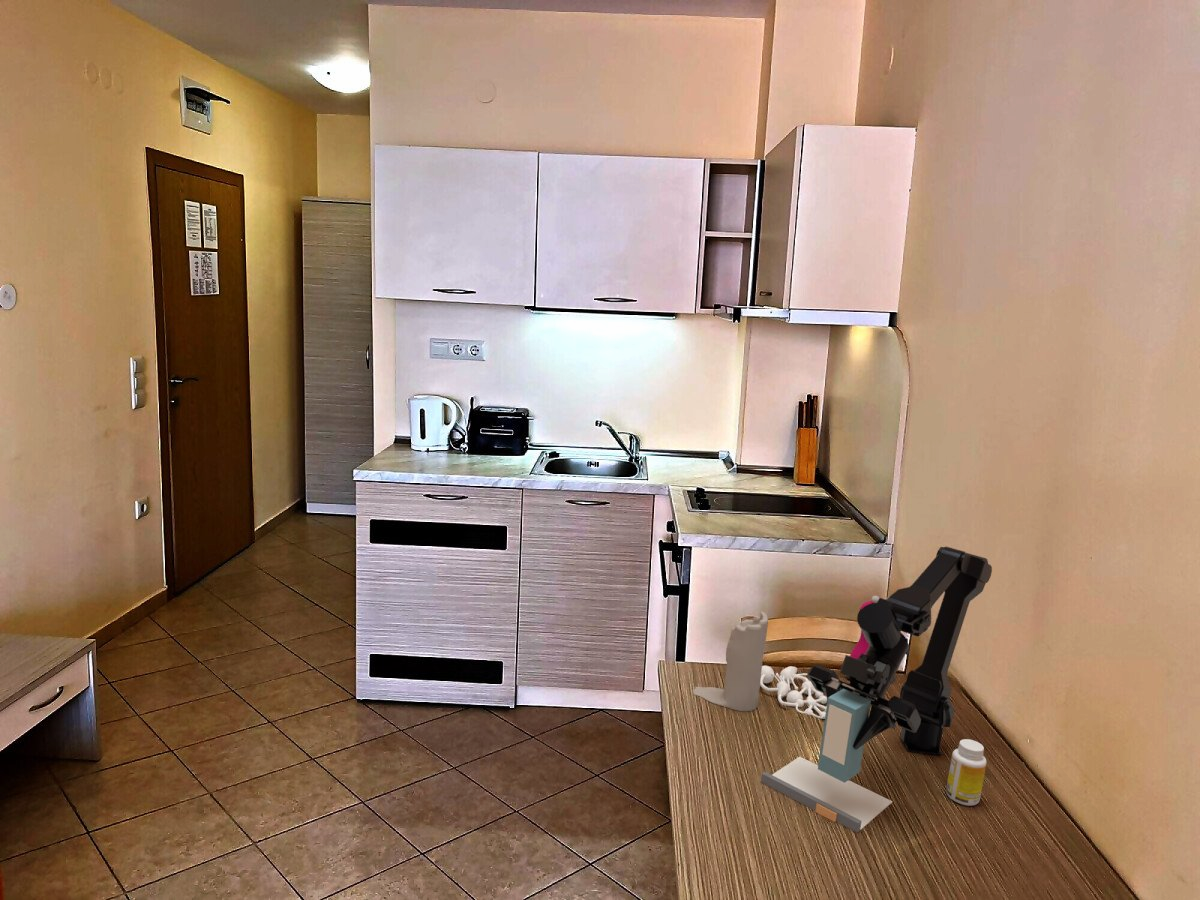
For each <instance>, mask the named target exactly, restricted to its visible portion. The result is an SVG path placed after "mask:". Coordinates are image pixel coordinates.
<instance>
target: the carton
mask: <svg viewBox="0 0 1200 900" xmlns="http://www.w3.org/2000/svg"><path fill="white" fill-rule="evenodd" d="M870 703H871V700H869V699H866V698H864V697H862V696H859V695H857V694H855V693H854V692H853V693H852V692H850V691H848V690H845V689H842V690H840V691H838V692H837V693H835V694H833V695H831V696H830V697H828V701H827V702H826V706H827V708H826V715H825V720H824V724H823V731H822V737H821V745H820V750H819V759H818V764H817V765H818V769H819V770H821V771H823V772H824V773H826V774H828V775H830V776H832V777H834V778H836V779H838V780H840V781H842V782H844V783H845V782H847V781H848V780H849V781H850V779H852V778H854V777H856V775H858V774H859V773H860V772H861V766H862V761H863V760H862V759H863V753H864V747H865V744H864V745H862V746H861V747H859V748H858V749H857V750H856V749H854V748H853V744H854V742H855V740H856V738H857V736H858V734H859V732H860V731H861V729H862V727H863V726H864V724H865V722H866V721H867V719H868V717H869V714H870V710H871V706H870Z"/></svg>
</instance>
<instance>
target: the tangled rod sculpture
mask: <svg viewBox="0 0 1200 900" xmlns="http://www.w3.org/2000/svg"><path fill="white" fill-rule="evenodd" d="M807 674H808V673H798V668H797V667H796V666H787V667H786V668H783V669H782V670H781V671H780V674H779V673H778V672H775V671H774V669H773V668H772V667H771V666H769V665H762V671H761V680H760V687H761V688H762V689H763V690H765V691H766V692H777V700H778V703H779V704H781V706H787V707H793V708H795V711H797V713H800V714H804V715H805V714H806V715H809V716H812V717H815V718H816V719H820V720H822V719H825V715H826V708H827V705H826V706H825V705H822V704H827V696H826V695H824V693H821V692H819V691H818V690H816V689H815V688H814V686H813V685H812V683H811V681H810V680H809V678H807V677H808V676H807ZM805 676H807V677H805ZM774 678H775V679H776V680H777V681H778V682H777V683H776V687H767V686H766V685H765V684H769V683H772V681H773V680H774ZM795 679H798V680H802V681H804V682H802V684H801V690H800V691H798V690H799V687H798V686H797V685H796V684H795ZM790 684H792V685H793V687H794V690H792V689H791V687H790ZM814 693H815V697H816V699H814V697H813V694H814ZM803 694H804V695H806V696H807V695H808V696H807V697H806V699H805V700H804V697H803ZM784 697H786V701H783V700H782V698H784ZM805 704H806V706H807V708H806V709H805V710H804V711H802V710H800V709H799V708H802V707H804V706H805ZM819 708H821V709H822V710H824V711H821V710H820V709H819ZM813 709H814V711H816V712H817V714H818V715H817V714H815V713H814V711H813Z"/></svg>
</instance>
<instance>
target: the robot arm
mask: <svg viewBox="0 0 1200 900" xmlns="http://www.w3.org/2000/svg"><path fill="white" fill-rule="evenodd" d="M992 572H993V567H992V565H991V564H989V561H988V559H987V558H986V557H983V556H980V555H979V556H978V555H975V554H973V553H968V552H966V551H964V550H960V549H957V548H953V547H949V546H940V547H939V548H938V550H937V552H936V556H935V557H934V558H933V560H932V561H931V562H930V564H928V566H927V567H926V568H925V569H924V570H923V572H922V573H920V575H919V576H918V577H917V579H915V580H914V582H913V583H912V584H911V585H910V586H907V587H904V588H900V589H896V590H895V591H894V592H893V593H892V594H891V595H889V597H888V598H886V599H884V598H882V597H879V600H878V602H877V603H871V604H868V605H866V606H865V607H863V608H862V609H860V608H859V610H858V613H857V616H856V620H857V624H858V627H859V628H860V631H861V630H862V632H863V634H864V636H865V639H866V640H867V642H868V644H869V645H870V646H869V648H868V649H867V651H866V653H865V655H864V654H861V655H860V656H859V658H858V659H855V658H853V657H850V655H848V654H845V655H844V659H843V661H842V664H841V667H840V670H839V673H840V674H842V675H844V677H845V680H846V681H848V682H849V683H848V682H845V681H842V680H840V677H838V675H837V673H836V671H835V670H833V669H830V668H829V667H825V666H823V665H821V664H818V663H817V664H814V665H812V666H811V667H810V668H809V670H808V672H807V673H806V674H807V677H808V678H807V679H808V680H809V681H811V683H812V685H813V686H814V688H815V689H816V691H819V692H821V693H823V695H825V696H826V697H827V701H828V697H830V696H831V695H833V694H835V693H837V692H838V691H840V690H842V689H845V690H848V691H850V692H852V693H855V694H857V695H859V696H862V697H864V698H866V699H869V700H871V703H870V710H869V716H868V719H867V721H866V722H865V724H864V726H863V727H862V729H861V731H860V732H859V734H858V736H857V738H856V740H855V742H854V744H853V748H854V749H856V750H857V749H858V748H859V747H861V746H862V745H864V746H865V744H867V743H868V742H869V741H870V740H872V739H873V738H875V737H876V736H878V735H879V734H881V733H883V732H885V731H886V730H888V729H892V730H895V729H896V727H897V726H896V723H897V725H898V727H899V728H901V732H900V738H901V740H902V741H901V742H903V744H904V746H905V748H906V750H907V751H908V752H912V753H919V754H925V755H935V756H943V752H942V750H941V744H942V743H941V742H942V737H943V732H944V728H950V727H952V722H953V719H954V717H955V715H954V714H955V708H954V707H953V704H952V701H951V700H950V697H951V692H952V688H951V684H950V680H949V675H948V670H949V668H950V666H951V661H952V659H953V657H954V652H955V649H956V645H957V643H958V640H959V637H960V634H961V631H962V627H963V624H964V621H965V618H966V615H967V611H968V609H969V605H970V602H971V601H972V600H974V599H975V598H977V596H978V595H980V594H982V592H983V591H984V590H985V589H984V588H985V586H986V584H987V583H988V582H989V581H990V579H991V576H992ZM942 595H943V598H942V601H941V604H940V607H939V610H938V613H937V616H936V619H935V623H934V625H933V629H932V632H931V635H930V638H929V641H928V644H927V647H926V650H925V654H924V656H923V660H922V662H921V664H920V665H919V666H918V667H916V668H915V669H914V670H913V669H911V670H910V671H909V672H908V673H907V677H906V681H905V682H904V683H903V685H902V686H901V689H900V692H899V693H900V694H899V696H896V695H893V696H892V697H890V698H889V699H885V694H886V693H887V691H888V689H889V687H890V685H894V683H895V681H896V677H895V676H896V673H897V671H899V668H900V666H901V663H902V661H903V659H904V657H905V656H908V655H909V654H910V649H911V648H910V644H909V639H908V638H907V637H906V636H905V635H904V634H903V633H905V634H907V635H912V636H915V637H919V636H922V634H923V633H925V632H927V631H928V629H929V627H931V624H932V608H933V606H935V605H934V604H936V602H938V600H939V599H940V598H941V596H942ZM902 632H903V633H902Z"/></svg>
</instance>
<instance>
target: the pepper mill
mask: <svg viewBox="0 0 1200 900" xmlns="http://www.w3.org/2000/svg"><path fill="white" fill-rule="evenodd" d="M879 598H880V597H879V596H878V595H873V596H872V597H871V600H869V601H866V602H864V603H863V604H861V606H860V608H859V610H860V609H862V608H863V607H865V606H866V605H868V604H871V603H877V602H878V600H879ZM869 646H870V645H869V644H868V642H867V640H866V639H865V636H864V634H863V632H862V630H861V629H860V637H859V639H858V640H857V643H856V644H855V645H854V647H853V649H852V651H851V653H850V654H849V656H850V657H853V658H855V659H858V658H859V656H860V655H861V654H864V655H865V653H866V651H867V649H868V648H869Z"/></svg>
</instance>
